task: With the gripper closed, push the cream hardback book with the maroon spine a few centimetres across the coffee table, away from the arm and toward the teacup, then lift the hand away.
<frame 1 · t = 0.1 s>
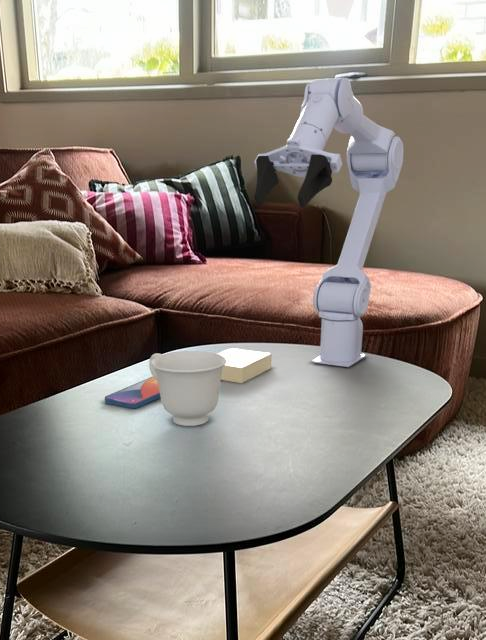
hand: (278, 202, 121), 32 cm above the table, tool tilted 50°, fingers open, 7 cm apart
book: (236, 372, 149), on the table
teacup: (184, 419, 125), on the table
smartphone: (145, 395, 137), on the table
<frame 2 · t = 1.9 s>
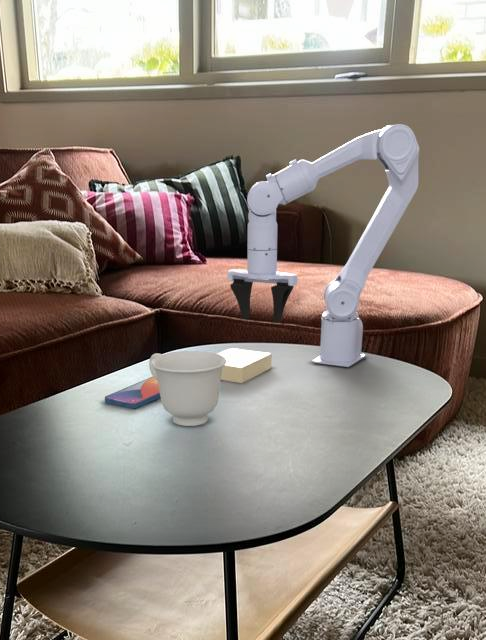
hand: (261, 319, 153), 8 cm above the table, tool pointing down, fingers open, 7 cm apart
nothing on the table moved.
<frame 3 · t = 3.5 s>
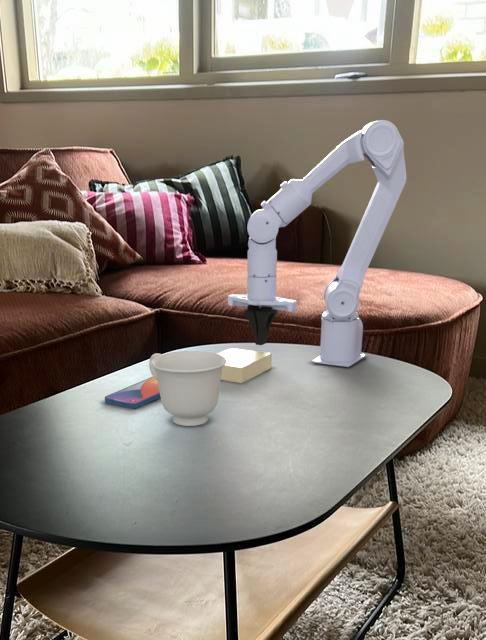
hand: (260, 344, 156), 3 cm above the table, tool pointing down, fingers closed
nothing on the table moved.
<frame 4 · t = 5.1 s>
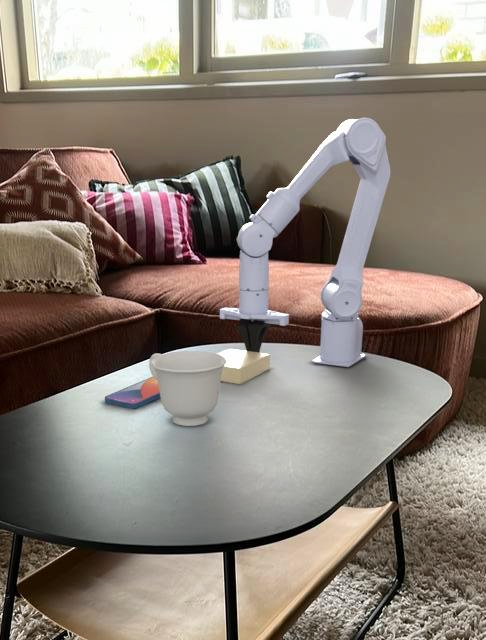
hand: (253, 357, 154), 1 cm above the table, tool pointing down, fingers closed, pressing on book
book: (235, 373, 149), on the table, touching gripper
everything else where it was.
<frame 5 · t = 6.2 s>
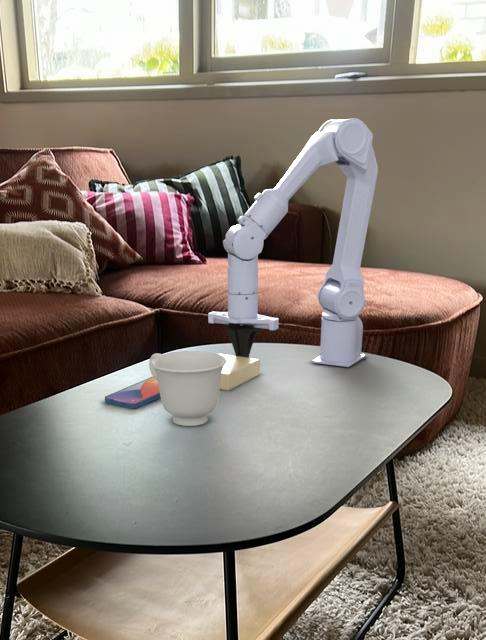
hand: (242, 362, 151), 1 cm above the table, tool pointing down, fingers closed, pressing on book
book: (223, 378, 146), on the table, touching gripper
everything else where it was.
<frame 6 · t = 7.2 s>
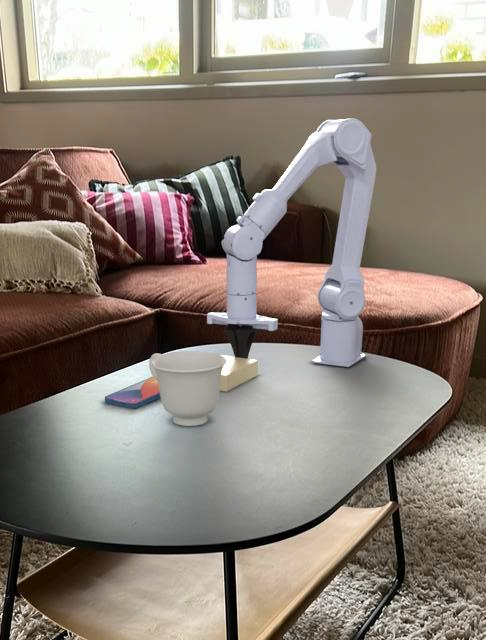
hand: (241, 363, 150), 1 cm above the table, tool pointing down, fingers closed
book: (221, 379, 145), on the table
everything else where it was.
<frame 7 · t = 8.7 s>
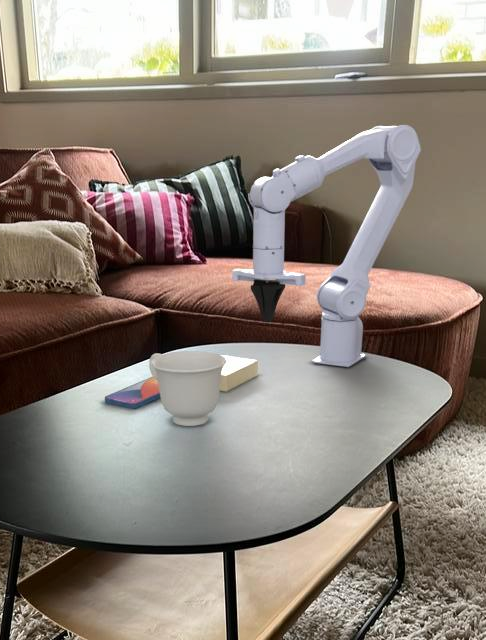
hand: (267, 321, 147), 9 cm above the table, tool pointing down, fingers closed
nothing on the table moved.
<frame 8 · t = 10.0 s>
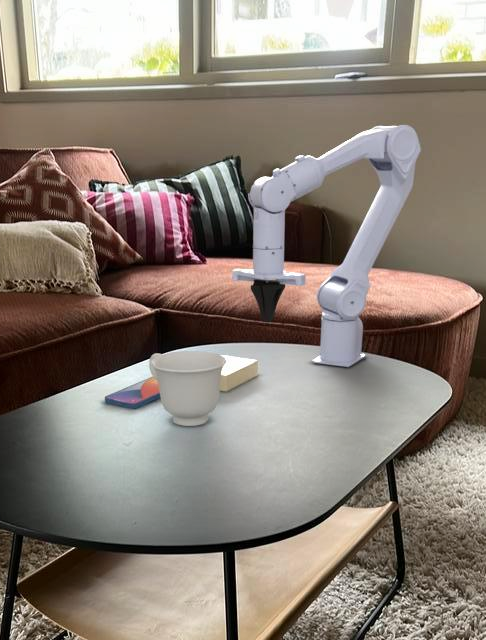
hand: (267, 321, 147), 9 cm above the table, tool pointing down, fingers closed
nothing on the table moved.
at the end: book moved 5.9 cm from its start; book 1.2 cm from the target spot on the table beside the teacup, on the table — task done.
